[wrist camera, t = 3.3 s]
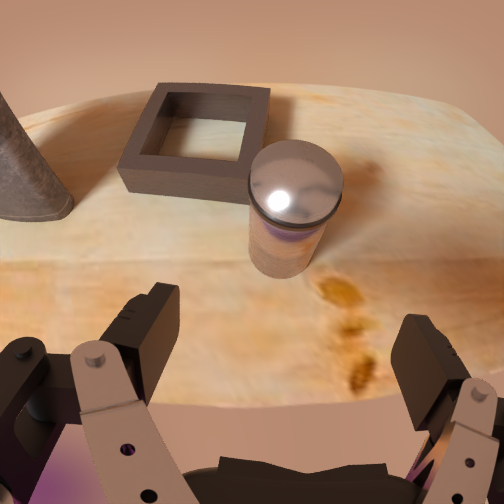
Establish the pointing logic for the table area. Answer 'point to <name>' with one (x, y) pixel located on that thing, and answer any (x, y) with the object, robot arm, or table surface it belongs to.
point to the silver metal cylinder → (290, 205)
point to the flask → (27, 177)
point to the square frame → (194, 169)
